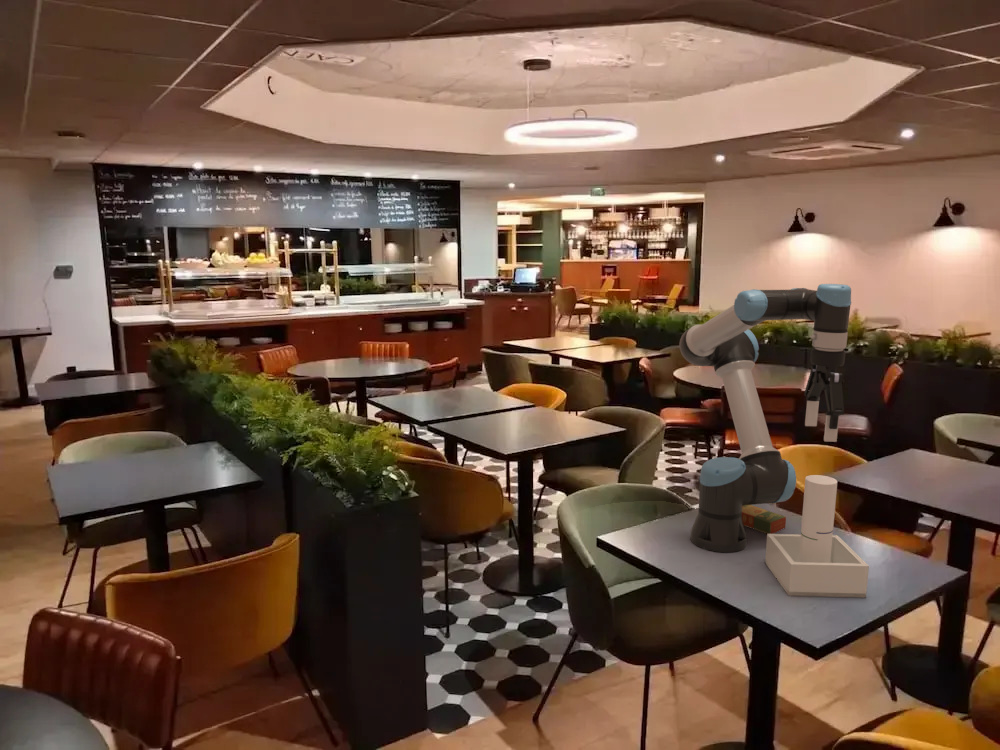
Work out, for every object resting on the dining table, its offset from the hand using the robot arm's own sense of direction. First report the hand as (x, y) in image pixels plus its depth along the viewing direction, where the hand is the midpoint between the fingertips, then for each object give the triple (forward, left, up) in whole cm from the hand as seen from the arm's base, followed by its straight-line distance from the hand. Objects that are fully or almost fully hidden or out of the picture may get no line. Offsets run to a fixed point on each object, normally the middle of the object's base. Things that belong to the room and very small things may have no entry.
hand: (820, 433), depth 178 cm
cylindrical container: (+5, -1, -36) cm, 36 cm away
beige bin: (+5, -1, -36) cm, 37 cm away
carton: (-31, -5, -37) cm, 49 cm away
